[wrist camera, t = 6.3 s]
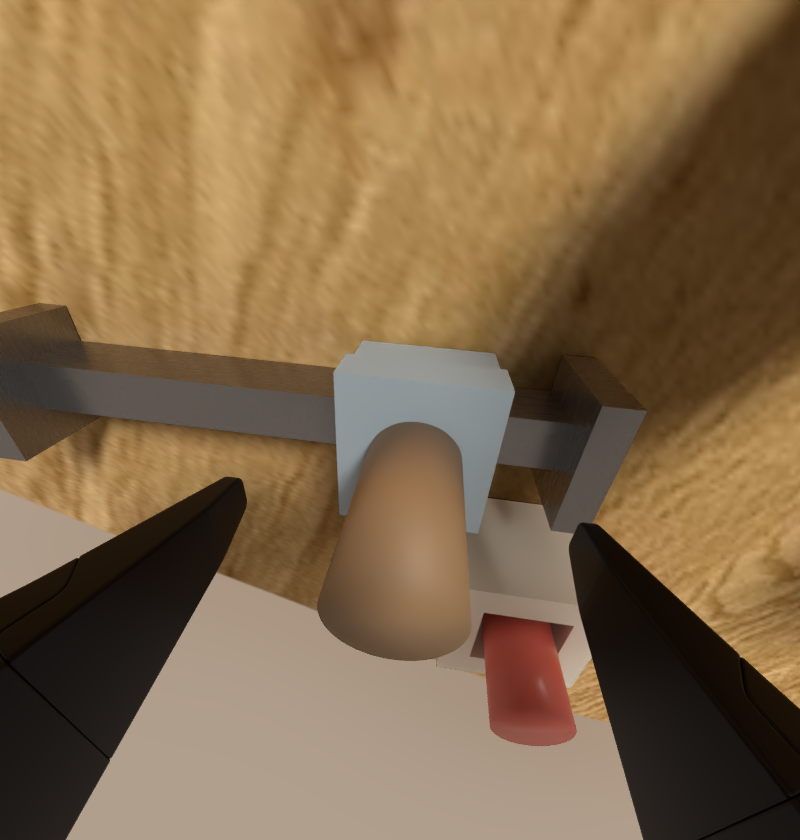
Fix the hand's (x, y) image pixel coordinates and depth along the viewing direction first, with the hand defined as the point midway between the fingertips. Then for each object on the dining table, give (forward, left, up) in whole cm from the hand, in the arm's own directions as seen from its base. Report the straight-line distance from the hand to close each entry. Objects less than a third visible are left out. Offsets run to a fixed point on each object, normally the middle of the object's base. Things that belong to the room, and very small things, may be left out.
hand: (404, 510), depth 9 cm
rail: (+5, 0, -6) cm, 8 cm away
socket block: (-5, +8, -6) cm, 11 cm away
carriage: (0, 0, -6) cm, 6 cm away
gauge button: (-5, +8, -3) cm, 10 cm away
